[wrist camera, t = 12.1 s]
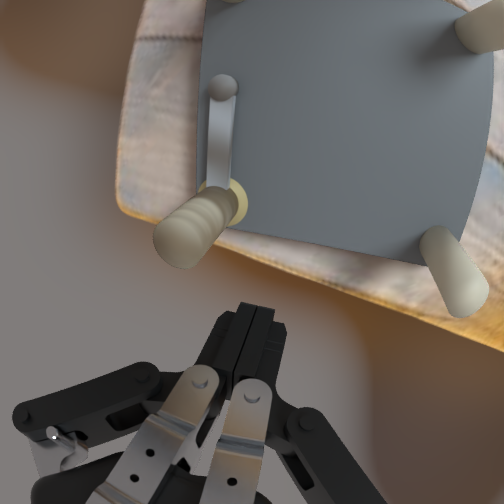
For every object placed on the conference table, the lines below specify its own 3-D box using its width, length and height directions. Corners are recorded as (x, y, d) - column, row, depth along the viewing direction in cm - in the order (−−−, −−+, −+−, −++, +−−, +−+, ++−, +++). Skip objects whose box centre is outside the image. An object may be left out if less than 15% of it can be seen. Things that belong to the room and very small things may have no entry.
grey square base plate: (222, -19, 15) (165, -68, 6) (477, 31, 11) (540, 11, 2) (208, 211, 28) (152, 267, 19) (437, 255, 24) (475, 327, 15)
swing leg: (205, 75, 18) (149, 66, 12) (248, 76, 18) (208, 60, 11) (200, 218, 25) (155, 262, 18) (237, 224, 24) (202, 273, 18)
